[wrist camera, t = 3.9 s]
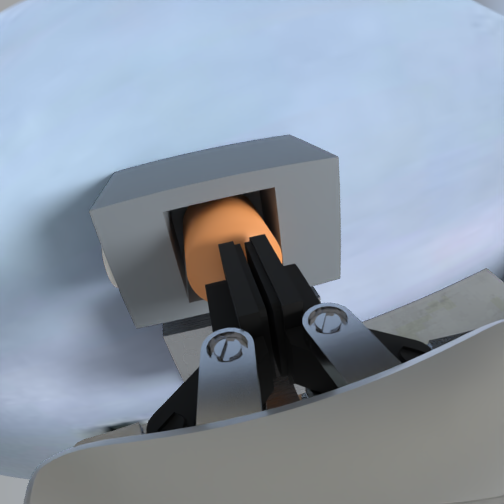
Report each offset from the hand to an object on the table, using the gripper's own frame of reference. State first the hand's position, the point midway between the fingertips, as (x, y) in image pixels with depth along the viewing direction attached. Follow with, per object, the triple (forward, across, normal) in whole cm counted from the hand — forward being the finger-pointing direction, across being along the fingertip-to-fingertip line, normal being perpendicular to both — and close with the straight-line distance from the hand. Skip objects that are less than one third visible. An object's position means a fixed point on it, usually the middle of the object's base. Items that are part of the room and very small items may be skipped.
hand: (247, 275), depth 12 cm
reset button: (+5, 0, 0) cm, 5 cm away
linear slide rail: (+8, +1, +11) cm, 14 cm away
